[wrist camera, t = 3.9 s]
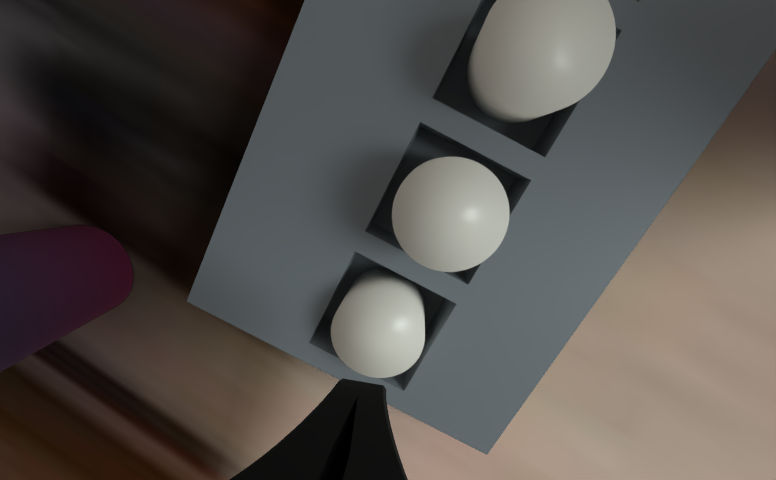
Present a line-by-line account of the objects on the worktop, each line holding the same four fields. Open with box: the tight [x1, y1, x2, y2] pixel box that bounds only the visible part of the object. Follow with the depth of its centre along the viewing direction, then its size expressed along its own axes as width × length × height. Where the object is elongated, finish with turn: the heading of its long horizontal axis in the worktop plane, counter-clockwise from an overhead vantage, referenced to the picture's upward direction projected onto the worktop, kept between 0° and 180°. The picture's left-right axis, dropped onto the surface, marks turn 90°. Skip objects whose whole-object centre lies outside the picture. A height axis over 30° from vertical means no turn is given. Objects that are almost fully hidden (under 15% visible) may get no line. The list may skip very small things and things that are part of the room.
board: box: [187, 0, 776, 455], centre depth 16 cm, size 16×25×3 cm, turn 153°
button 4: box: [331, 267, 425, 378], centre depth 17 cm, size 4×4×3 cm
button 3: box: [392, 157, 510, 272], centre depth 14 cm, size 4×4×3 cm
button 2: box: [467, 0, 616, 123], centre depth 13 cm, size 4×4×3 cm
